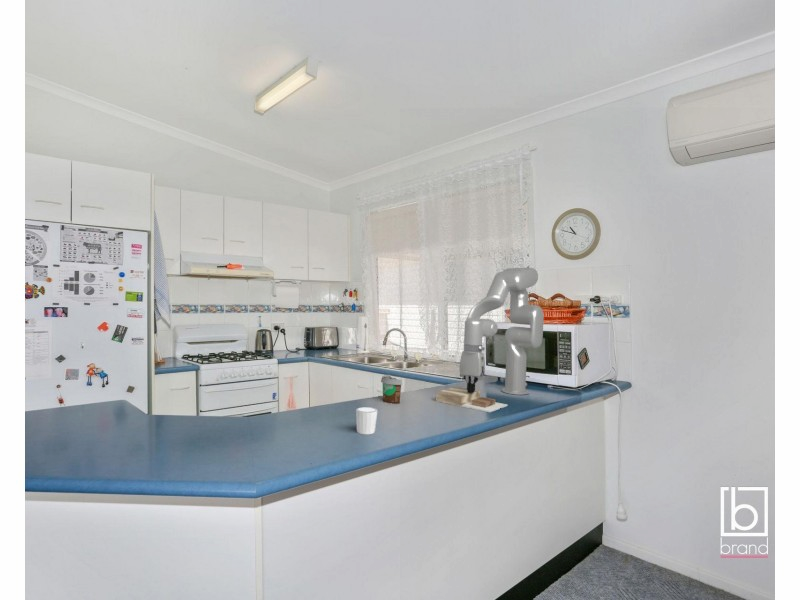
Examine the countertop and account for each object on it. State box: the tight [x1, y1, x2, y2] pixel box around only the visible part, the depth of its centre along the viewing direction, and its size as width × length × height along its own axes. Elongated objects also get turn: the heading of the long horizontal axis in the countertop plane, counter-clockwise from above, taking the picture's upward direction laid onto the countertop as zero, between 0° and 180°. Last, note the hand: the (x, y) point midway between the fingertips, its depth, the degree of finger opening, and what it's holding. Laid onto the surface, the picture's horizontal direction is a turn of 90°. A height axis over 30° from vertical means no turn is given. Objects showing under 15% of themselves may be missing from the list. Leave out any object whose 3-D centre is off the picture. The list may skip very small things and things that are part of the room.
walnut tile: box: [472, 396, 496, 408], centre depth 181 cm, size 9×6×2 cm, turn 141°
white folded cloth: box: [461, 401, 508, 413], centre depth 180 cm, size 16×12×1 cm
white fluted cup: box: [355, 406, 379, 435], centre depth 139 cm, size 7×7×7 cm
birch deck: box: [435, 386, 481, 407], centre depth 188 cm, size 16×12×4 cm
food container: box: [380, 374, 403, 405], centre depth 181 cm, size 12×6×10 cm, turn 25°
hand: (470, 392), depth 185 cm, fingers closed
